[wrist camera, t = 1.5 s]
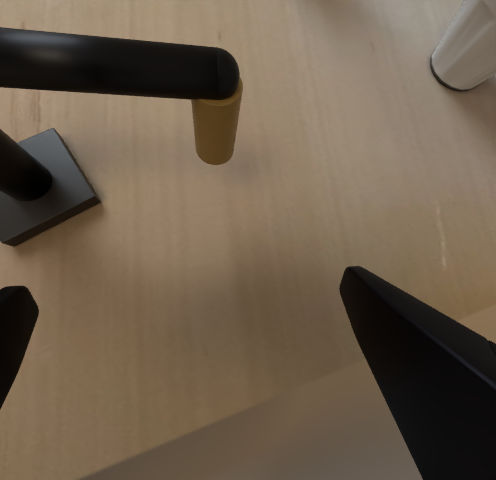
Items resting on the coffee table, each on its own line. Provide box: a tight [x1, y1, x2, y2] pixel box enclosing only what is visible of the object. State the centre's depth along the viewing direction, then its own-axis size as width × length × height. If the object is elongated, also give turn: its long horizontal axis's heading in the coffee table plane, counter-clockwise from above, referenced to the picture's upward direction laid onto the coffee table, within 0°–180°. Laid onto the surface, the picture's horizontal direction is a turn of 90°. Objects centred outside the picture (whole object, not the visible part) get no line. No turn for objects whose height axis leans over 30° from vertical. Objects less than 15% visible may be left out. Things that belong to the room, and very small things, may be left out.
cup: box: [431, 0, 496, 91], centre depth 27 cm, size 10×10×9 cm
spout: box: [0, 27, 243, 165], centre depth 13 cm, size 17×4×7 cm, turn 92°
